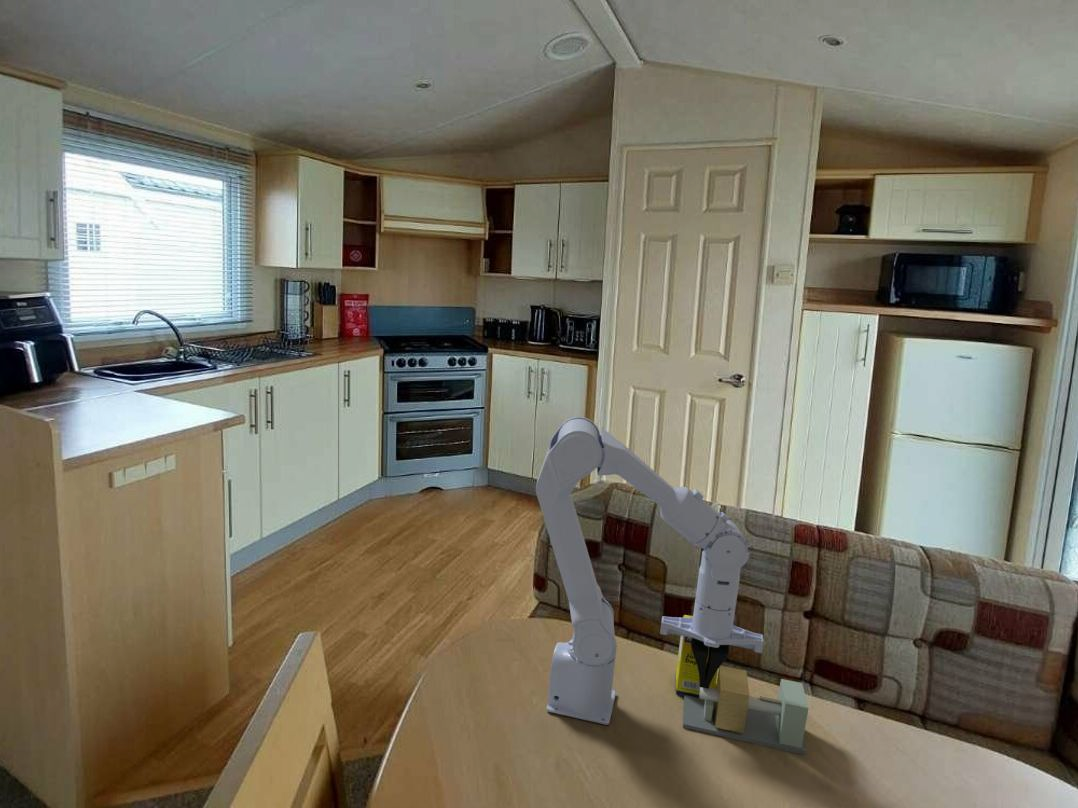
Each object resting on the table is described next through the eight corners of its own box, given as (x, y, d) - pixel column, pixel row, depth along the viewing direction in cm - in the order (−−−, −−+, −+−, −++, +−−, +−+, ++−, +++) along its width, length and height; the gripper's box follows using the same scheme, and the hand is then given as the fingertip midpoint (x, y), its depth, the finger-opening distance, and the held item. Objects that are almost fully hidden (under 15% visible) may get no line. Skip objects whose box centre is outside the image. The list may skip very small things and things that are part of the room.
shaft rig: (682, 727, 95) (688, 685, 94) (684, 698, 102) (689, 658, 101) (805, 754, 92) (812, 711, 90) (798, 722, 98) (805, 681, 97)
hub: (715, 727, 95) (720, 689, 93) (714, 701, 100) (719, 665, 99) (743, 733, 94) (749, 695, 92) (740, 706, 100) (746, 670, 98)
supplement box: (713, 702, 102) (723, 639, 99) (675, 695, 103) (683, 632, 101) (711, 680, 107) (720, 620, 105) (675, 673, 108) (683, 613, 106)
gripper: (663, 604, 92) (653, 689, 95) (770, 624, 89) (756, 711, 92) (666, 582, 99) (656, 662, 102) (765, 600, 96) (752, 682, 98)
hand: (704, 684), depth 97 cm, fingers closed
